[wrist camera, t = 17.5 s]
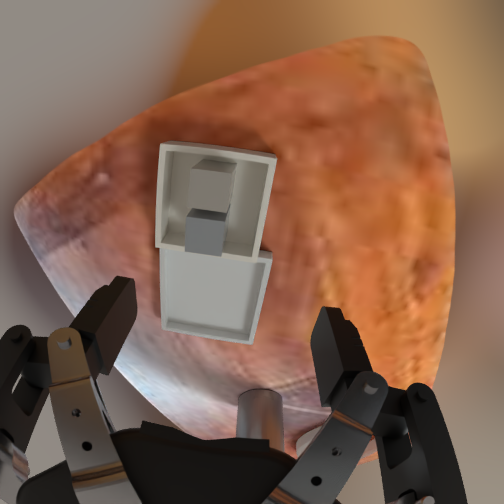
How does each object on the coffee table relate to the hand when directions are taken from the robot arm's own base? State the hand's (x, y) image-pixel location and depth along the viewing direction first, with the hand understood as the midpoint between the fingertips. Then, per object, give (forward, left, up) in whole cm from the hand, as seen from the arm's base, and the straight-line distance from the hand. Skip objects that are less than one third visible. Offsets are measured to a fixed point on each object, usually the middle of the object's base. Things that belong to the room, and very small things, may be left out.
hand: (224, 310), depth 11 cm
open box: (-2, +4, -24) cm, 24 cm away
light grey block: (0, +3, -23) cm, 23 cm away
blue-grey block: (-5, +3, -23) cm, 24 cm away
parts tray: (-16, +3, -24) cm, 29 cm away
